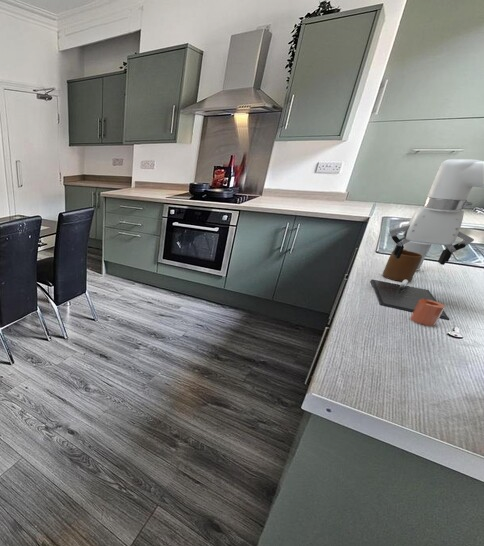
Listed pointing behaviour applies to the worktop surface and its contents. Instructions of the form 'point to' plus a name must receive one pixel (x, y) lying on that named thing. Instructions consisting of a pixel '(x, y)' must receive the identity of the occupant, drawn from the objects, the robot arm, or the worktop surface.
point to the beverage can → (418, 249)
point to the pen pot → (427, 312)
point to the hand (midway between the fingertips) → (418, 260)
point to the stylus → (404, 283)
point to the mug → (402, 266)
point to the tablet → (401, 296)
